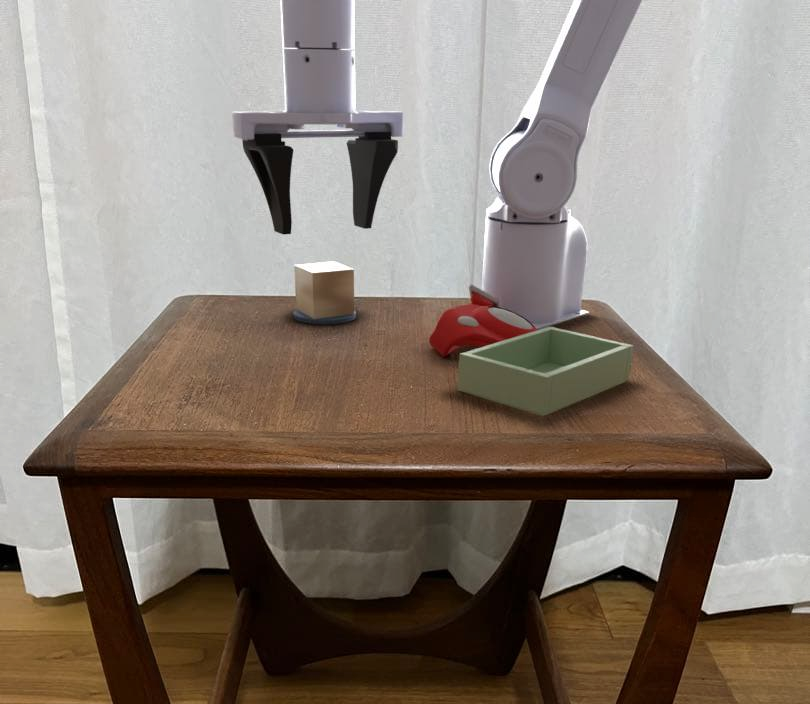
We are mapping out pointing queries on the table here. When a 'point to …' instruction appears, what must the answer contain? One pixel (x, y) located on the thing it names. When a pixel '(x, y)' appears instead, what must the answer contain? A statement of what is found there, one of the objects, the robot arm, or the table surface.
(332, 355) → the table surface
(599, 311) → the table surface
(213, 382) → the table surface
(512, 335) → the red curved piece
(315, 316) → the block
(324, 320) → the pad
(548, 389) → the tray
